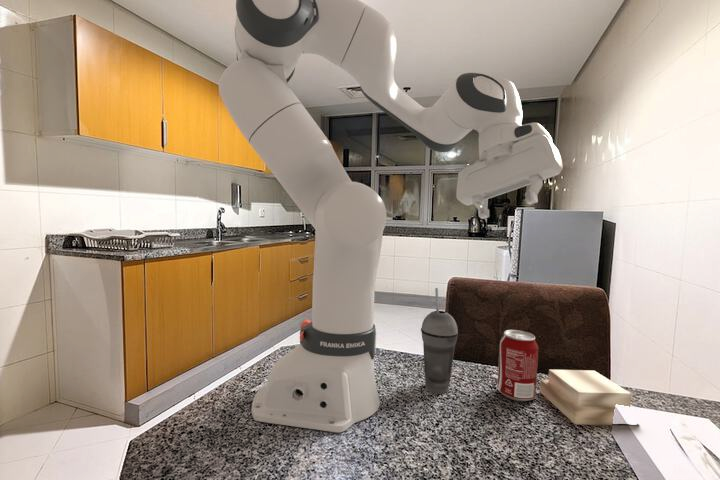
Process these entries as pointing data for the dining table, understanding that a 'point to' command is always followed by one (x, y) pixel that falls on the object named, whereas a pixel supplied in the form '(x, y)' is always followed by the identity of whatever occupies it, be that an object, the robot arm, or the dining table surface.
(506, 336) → the soda can
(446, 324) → the beverage cup
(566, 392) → the cream stepped square block
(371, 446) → the dining table surface
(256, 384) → the dining table surface
